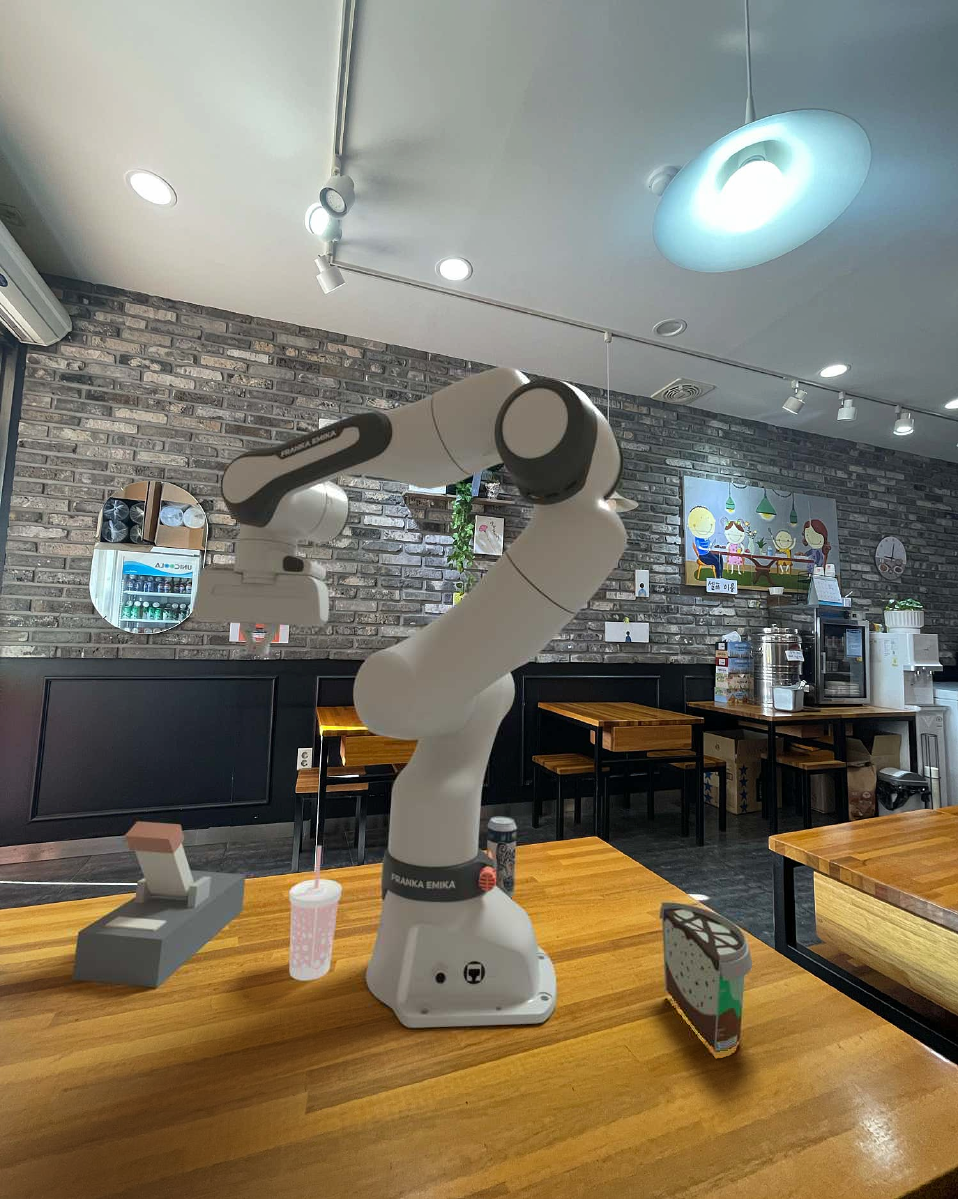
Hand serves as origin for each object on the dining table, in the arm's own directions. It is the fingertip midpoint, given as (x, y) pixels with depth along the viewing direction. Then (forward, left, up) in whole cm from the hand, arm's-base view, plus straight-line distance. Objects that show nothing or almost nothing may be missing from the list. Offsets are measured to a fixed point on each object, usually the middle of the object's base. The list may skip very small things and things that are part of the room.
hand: (257, 654), depth 79 cm
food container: (-62, +14, -37) cm, 74 cm away
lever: (+4, +8, -31) cm, 32 cm away
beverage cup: (-16, +11, -37) cm, 42 cm away
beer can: (-38, -12, -37) cm, 55 cm away
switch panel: (+4, +8, -37) cm, 38 cm away
